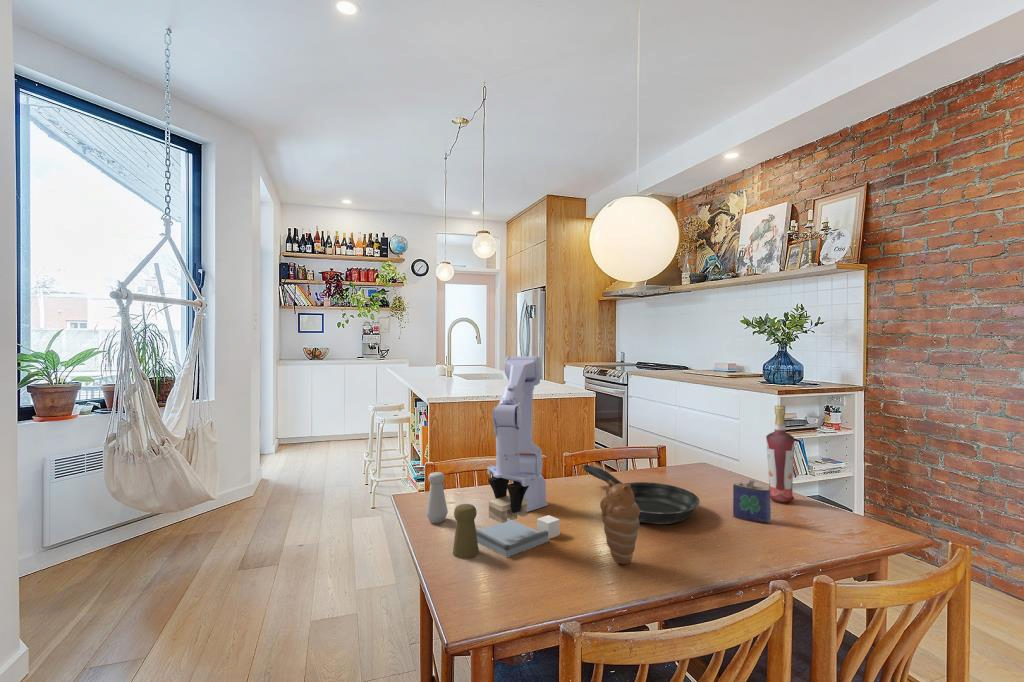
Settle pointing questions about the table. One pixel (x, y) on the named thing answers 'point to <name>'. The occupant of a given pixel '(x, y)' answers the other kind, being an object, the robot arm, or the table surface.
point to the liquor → (780, 460)
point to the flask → (751, 502)
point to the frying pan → (655, 499)
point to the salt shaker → (436, 499)
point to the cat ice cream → (620, 521)
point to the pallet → (505, 509)
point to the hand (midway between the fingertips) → (508, 508)
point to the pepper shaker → (465, 532)
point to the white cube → (549, 525)
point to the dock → (510, 537)
